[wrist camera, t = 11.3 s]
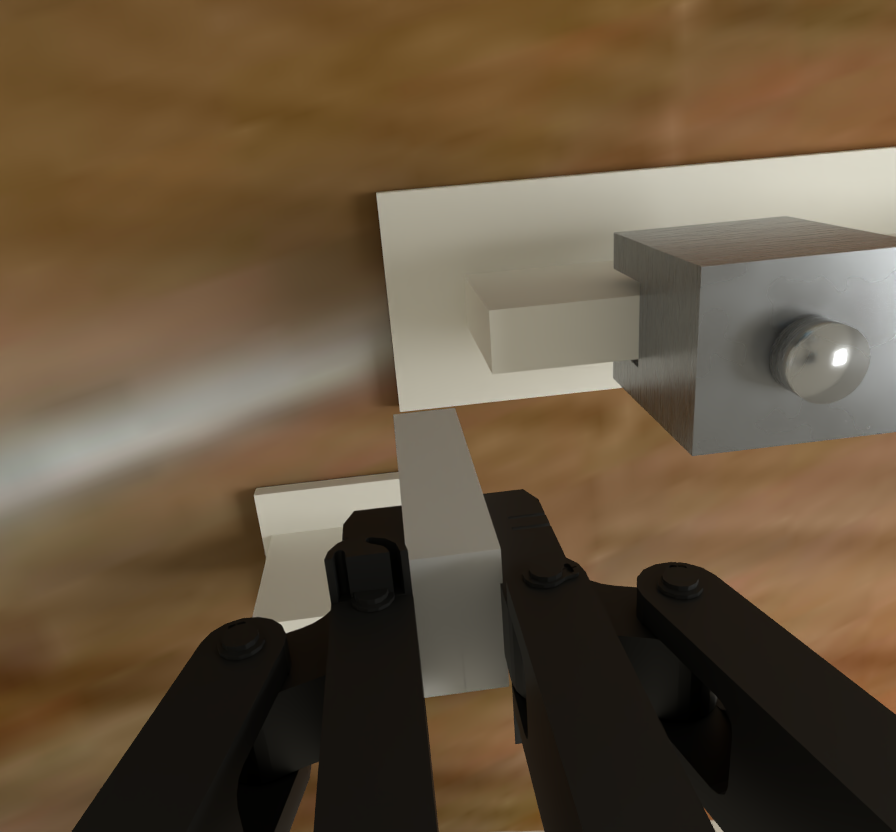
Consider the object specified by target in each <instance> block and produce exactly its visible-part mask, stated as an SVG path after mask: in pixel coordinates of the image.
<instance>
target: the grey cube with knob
mask: <svg viewBox="0 0 896 832" xmlns="http://www.w3.org/2000/svg"><path fill="white" fill-rule="evenodd" d="M614 269H615V270H617V271H619V272H621V273H623V274H625V275H627V276H628V277H630V278H632V279H634V280H636V281H638V282H640V305H639V359H634V360H624V361H615V362H613V379H614V380H615V381H616V382H617V383H618V384H619V385H620V386H621V387H622V388H624V389H625V390H626V391H627V392H628V393H629V394H630V395H631V396H632V397H633V398H634V399H635V400H636V401H637V402H638V403H639V404H640V405H641V406H642V407H643V408H644V409H645V410H646V411H647V412H648V413H649V414H650V415H651V416H652V417H653V418H654V419H655V420H656V421H657V422H658V423H659V424H660V425H661V426H662V427H663V428H664V429H665V430H666V431H667V432H668V433H669V434H670V435H671V436H672V437H673V438H674V439H675V440H676V441H677V442H678V443H679V444H680V445H681V446H682V447H684V448H685V449H686V450H687V451H688V452H689V453H690V454H691V455H692V456H697V455H705V454H713V453H722V452H730V451H739V450H747V449H756V448H764V447H773V446H781V445H789V444H798V443H806V442H815V441H823V440H832V439H840V438H849V437H857V436H866V435H874V434H882V433H891V432H896V237H894V236H889V235H884V234H878V233H873V232H868V231H863V230H857V229H852V228H847V227H842V226H836V225H831V224H826V223H820V222H815V221H810V220H805V219H799V218H794V217H789V216H781V217H770V218H760V219H750V220H739V221H729V222H718V223H708V224H698V225H687V226H677V227H666V228H656V229H646V230H635V231H625V232H614Z"/></svg>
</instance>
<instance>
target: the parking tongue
mask: <svg viewBox="0 0 896 832" xmlns="http://www.w3.org/2000/svg"><path fill="white" fill-rule="evenodd" d="M254 499H255V504H256V509H257V514H258V520H259V525H260V530H261V535H262V540H263V545H264V550H265V555H266V562H265V566H264V571H263V575H262V579H261V583H260V587H259V591H258V596H257V600H256V604H255V608H254V612H253V616H252V617H262V618H268V619H273V620H274V621H276V622H278V623H279V624H281V625H282V626H283V628H284V631H285V633H288V632H291V631H294V630H297V629H300V628H303V627H305V626H307V625H310V624H312V623H314V622H316V621H317V620H319V619H321V618H322V617H324V616H325V615H326V614H327V613H328V612H329V611H330V610H331V600H330V594H329V588H328V582H327V576H326V569H325V563H324V559H325V557H326V555H327V552H328V551H329V550H330V549H331V548H332V547H334V546H335V545H336V544H337V543H339V542H341V541H342V533H343V524H344V523H345V521H346V520H347V519H348V518H349V517H350V515H351V514H352V513H353V512H354V511H357V510H366V509H374V508H383V507H391V506H400V505H401V494H400V483H399V472H392V473H383V474H375V475H366V476H357V477H349V478H340V479H331V480H322V481H314V482H305V483H296V484H288V485H279V486H270V487H261V488H256V490H255V493H254Z"/></svg>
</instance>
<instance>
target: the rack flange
mask: <svg viewBox="0 0 896 832" xmlns="http://www.w3.org/2000/svg"><path fill="white" fill-rule="evenodd" d="M376 196H377V205H378V214H379V223H380V233H381V242H382V251H383V260H384V269H385V279H386V288H387V297H388V306H389V315H390V325H391V334H392V343H393V352H394V361H395V371H396V380H397V389H398V398H399V407H400V412H404V411H413V410H422V409H431V408H440V407H450V406H459V405H468V404H477V403H486V402H495V401H505V400H514V399H523V398H532V397H541V396H550V395H560V394H569V393H578V392H587V391H596V390H606V389H615V388H622V387H621V386H620V385H619V384H618V383H617V382H616V381H615V380H614V379H613V362H615V361H624V360H634V359H639V305H640V282H638V281H636V280H634V279H632V278H630V277H628V276H627V275H625V274H623V273H621V272H619V271H617V270H615V269H614V232H625V231H635V230H646V229H656V228H666V227H677V226H687V225H698V224H708V223H718V222H729V221H739V220H750V219H760V218H770V217H781V216H789V217H794V218H799V219H805V220H810V221H815V222H820V223H826V224H831V225H836V226H842V227H847V228H852V229H857V230H863V231H868V232H873V233H878V234H884V235H889V236H894V237H896V146H894V147H883V148H871V149H860V150H849V151H837V152H826V153H814V154H803V155H792V156H780V157H769V158H758V159H746V160H735V161H724V162H712V163H701V164H690V165H678V166H667V167H656V168H644V169H633V170H621V171H610V172H599V173H587V174H576V175H565V176H553V177H542V178H531V179H519V180H508V181H497V182H485V183H474V184H463V185H451V186H440V187H428V188H417V189H406V190H394V191H383V192H376Z"/></svg>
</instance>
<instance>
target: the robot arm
mask: <svg viewBox="0 0 896 832" xmlns="http://www.w3.org/2000/svg"><path fill="white" fill-rule="evenodd" d="M393 417H394V428H395V439H396V450H397V461H398V472H399V483H400V494H401V505H400V506H391V507H383V508H374V509H366V510H357V511H354V512H353V513H352V514H351V515H350V517H349V518H348V519H347V520H346V521H345V523H344V524H343V533H342V541H341V542H339V543H337V544H336V545H335V546H334V547H332V548H331V549H330V550H329V551H328V552H327V555H326V557H325V559H324V563H325V569H326V576H327V582H328V588H329V594H330V600H331V610H330V611H329V612H328V613H327V614H326V615H325V616H324V617H322V618H321V619H319V620H317V621H316V622H314V623H312V624H310V625H307V626H305V627H303V628H300V629H297V630H294V631H291V632H288V633H285V631H284V628H283V626H282V625H281V624H279V623H278V622H276V621H274V620H273V619H268V618H262V617H252V618H242V619H239V620H236V621H232V622H230V623H227V624H225V625H223V626H221V627H219V628H218V629H216V630H214V631H213V632H211V633H210V634H209V635H208V636H207V637H206V638H205V639H204V640H203V641H202V642H201V643H200V645H199V646H198V648H197V649H196V651H195V652H194V654H193V655H192V657H191V658H190V659H189V661H188V662H187V664H186V665H185V667H184V668H183V670H182V671H181V673H180V674H179V676H178V677H177V678H176V680H175V681H174V683H173V684H172V686H171V687H170V689H169V690H168V692H167V693H166V695H165V696H164V697H163V699H162V700H161V702H160V703H159V705H158V706H157V708H156V709H155V711H154V712H153V714H152V715H151V716H150V718H149V719H148V721H147V722H146V724H145V725H144V727H143V728H142V730H141V731H140V732H139V734H138V735H137V737H136V738H135V740H134V741H133V743H132V744H131V746H130V747H129V749H128V750H127V751H126V753H125V754H124V756H123V757H122V759H121V760H120V762H119V763H118V765H117V766H116V768H115V769H114V770H113V772H112V773H111V775H110V776H109V778H108V779H107V781H106V782H105V784H104V785H103V787H102V788H101V789H100V791H99V792H98V794H97V795H96V797H95V798H94V800H93V801H92V803H91V804H90V806H89V807H88V808H87V810H86V811H85V813H84V814H83V816H82V817H81V819H80V820H79V822H78V823H77V825H76V826H75V827H74V829H73V830H72V832H289V831H290V829H291V826H292V823H293V821H294V818H295V815H296V813H297V810H298V807H299V805H300V802H301V799H302V797H303V794H304V791H305V789H306V786H307V783H308V781H309V778H310V771H311V764H314V763H316V762H318V761H319V768H318V781H317V794H316V807H315V820H314V832H439V830H438V820H437V811H436V801H435V791H434V782H433V772H432V763H431V753H430V744H429V734H428V725H427V716H426V707H425V698H427V697H434V696H441V695H449V694H456V693H463V692H471V691H478V690H485V689H493V688H500V687H508V686H509V678H508V670H509V673H510V677H511V681H512V692H513V709H514V727H515V744H520V743H522V744H523V748H524V752H525V756H526V760H527V764H528V768H529V772H530V776H531V780H532V784H533V788H534V792H535V796H536V800H537V804H538V808H539V811H540V815H541V819H542V823H543V827H544V831H545V832H715V830H714V828H713V826H712V824H711V822H710V820H709V818H708V816H707V814H706V812H705V810H704V808H705V809H706V811H707V812H708V813H709V814H710V816H711V817H712V818H713V819H714V820H715V822H716V823H717V824H718V825H719V827H721V829H722V830H723V831H724V832H896V714H894V713H893V712H892V711H890V710H889V709H888V708H887V707H885V706H884V705H883V704H881V703H880V702H879V701H877V700H876V699H875V698H874V697H872V696H871V695H870V694H868V693H867V692H866V691H865V690H863V689H862V688H861V687H859V686H858V685H857V684H855V683H854V682H853V681H852V680H850V679H849V678H848V677H846V676H845V675H844V674H843V673H841V672H840V671H839V670H837V669H836V668H835V667H833V666H832V665H831V664H830V663H828V662H827V661H826V660H824V659H823V658H822V657H821V656H819V655H818V654H817V653H815V652H814V651H813V650H811V649H810V648H809V647H808V646H806V645H805V644H804V643H802V642H801V641H800V640H799V639H797V638H796V637H795V636H793V635H792V634H791V633H789V632H788V631H787V630H786V629H784V628H783V627H782V626H780V625H779V624H778V623H777V622H775V621H774V620H773V619H771V618H770V617H769V616H767V615H766V614H765V613H764V612H762V611H761V610H760V609H758V608H757V607H756V606H755V605H753V604H752V603H751V602H749V601H748V600H747V599H745V598H744V597H743V596H742V595H740V594H739V593H738V592H736V591H735V590H734V589H733V588H731V587H730V586H729V585H727V584H726V583H725V582H723V581H722V580H721V579H720V578H718V577H717V576H716V575H714V574H712V573H711V572H709V571H707V570H705V569H703V568H701V567H698V566H694V565H691V564H687V563H680V562H678V563H676V562H668V563H661V564H655V565H653V566H651V567H648V568H646V569H644V570H643V571H642V572H641V573H640V575H639V576H638V577H637V587H624V586H613V585H606V584H600V583H597V582H594V581H590V580H589V578H588V576H587V574H586V572H585V571H584V570H583V568H582V567H581V566H580V565H579V564H578V563H576V562H574V561H572V560H570V559H568V558H566V557H565V555H564V552H563V550H562V548H561V546H560V544H559V542H558V540H557V538H556V536H555V534H554V531H553V529H552V527H551V526H550V524H549V521H548V519H547V517H546V515H545V513H544V510H543V508H542V506H541V504H540V502H539V500H538V499H537V498H535V497H534V496H532V495H531V494H529V493H528V492H526V491H525V490H523V489H521V490H512V491H504V492H495V493H487V494H483V493H482V490H481V487H480V484H479V481H478V477H477V474H476V471H475V468H474V465H473V462H472V459H471V456H470V453H469V450H468V447H467V444H466V441H465V438H464V434H463V431H462V428H461V425H460V422H459V419H458V416H457V413H456V410H455V408H450V409H441V410H432V411H422V412H413V413H404V414H395V415H393ZM703 807H704V808H703Z"/></svg>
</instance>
